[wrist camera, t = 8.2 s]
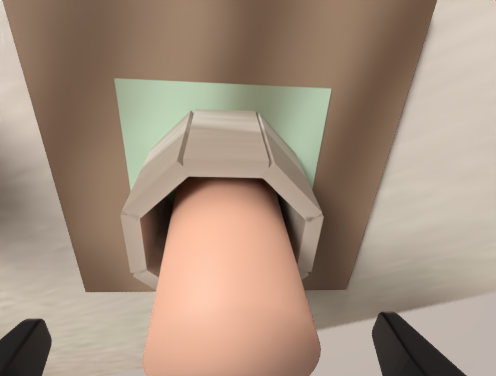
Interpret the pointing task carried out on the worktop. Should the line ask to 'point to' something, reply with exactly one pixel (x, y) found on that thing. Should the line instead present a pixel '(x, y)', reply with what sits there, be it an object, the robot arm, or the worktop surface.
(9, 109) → the worktop surface
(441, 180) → the worktop surface
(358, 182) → the tube board
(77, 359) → the worktop surface
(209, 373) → the terracotta peg
